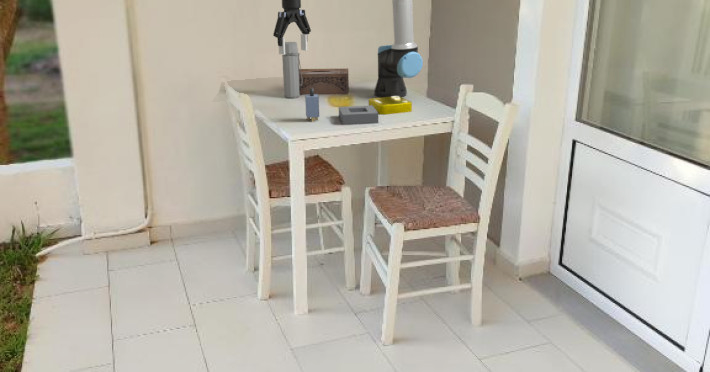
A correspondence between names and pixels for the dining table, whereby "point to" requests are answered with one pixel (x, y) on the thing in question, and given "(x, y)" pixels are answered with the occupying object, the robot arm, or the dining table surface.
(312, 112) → the plug
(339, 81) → the tissue box cover
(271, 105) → the dining table surface
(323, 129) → the dining table surface
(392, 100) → the element tile
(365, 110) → the socket
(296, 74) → the water bottle
